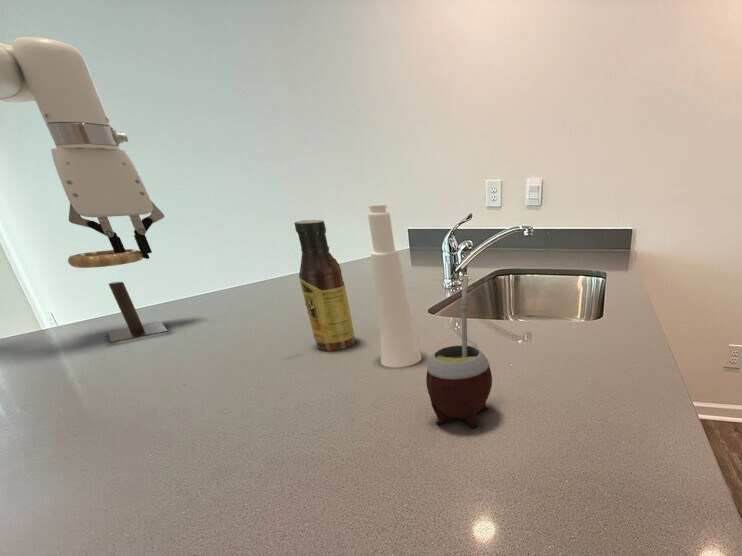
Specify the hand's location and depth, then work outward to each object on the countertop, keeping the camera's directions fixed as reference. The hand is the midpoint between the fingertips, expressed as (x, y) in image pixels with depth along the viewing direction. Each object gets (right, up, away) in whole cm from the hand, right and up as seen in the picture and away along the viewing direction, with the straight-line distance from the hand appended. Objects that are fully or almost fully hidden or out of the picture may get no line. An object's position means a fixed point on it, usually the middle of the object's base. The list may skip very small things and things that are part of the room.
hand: (136, 258), depth 73 cm
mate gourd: (+62, -26, -26) cm, 72 cm away
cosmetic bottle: (+50, -19, -10) cm, 55 cm away
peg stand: (-3, -14, +4) cm, 14 cm away
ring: (-3, -1, -3) cm, 4 cm away
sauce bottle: (+38, -16, -4) cm, 41 cm away
